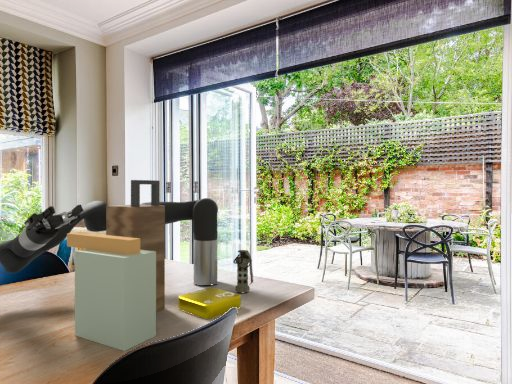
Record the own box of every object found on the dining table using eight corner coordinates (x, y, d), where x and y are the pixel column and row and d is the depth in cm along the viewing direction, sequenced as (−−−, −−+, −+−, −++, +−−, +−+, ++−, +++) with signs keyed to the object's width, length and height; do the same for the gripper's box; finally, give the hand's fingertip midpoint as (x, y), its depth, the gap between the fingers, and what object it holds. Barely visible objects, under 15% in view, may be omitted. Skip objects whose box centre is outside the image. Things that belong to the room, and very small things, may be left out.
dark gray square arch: (130, 206, 107) (130, 180, 106) (154, 205, 115) (154, 180, 115) (135, 207, 106) (135, 180, 105) (159, 205, 114) (159, 180, 114)
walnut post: (106, 312, 110) (106, 205, 110) (137, 302, 121) (137, 204, 120) (134, 320, 104) (134, 207, 104) (164, 308, 115) (164, 205, 114)
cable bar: (67, 246, 100) (67, 233, 100) (78, 244, 103) (78, 232, 103) (129, 254, 89) (129, 240, 89) (140, 252, 92) (140, 238, 92)
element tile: (211, 298, 126) (211, 285, 126) (243, 308, 117) (243, 293, 116) (175, 309, 115) (175, 294, 115) (208, 321, 105) (208, 304, 105)
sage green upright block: (74, 335, 94) (74, 250, 93) (107, 322, 102) (107, 245, 102) (124, 351, 85) (124, 258, 85) (155, 335, 94) (156, 251, 93)
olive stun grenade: (230, 294, 130) (231, 251, 130) (240, 289, 137) (240, 248, 136) (246, 296, 127) (246, 253, 127) (256, 291, 134) (256, 250, 133)
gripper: (9, 224, 106) (38, 197, 99) (56, 220, 119) (85, 195, 112) (17, 248, 104) (47, 221, 98) (64, 241, 117) (93, 217, 110)
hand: (67, 208), depth 105 cm, fingers open, 8 cm apart
